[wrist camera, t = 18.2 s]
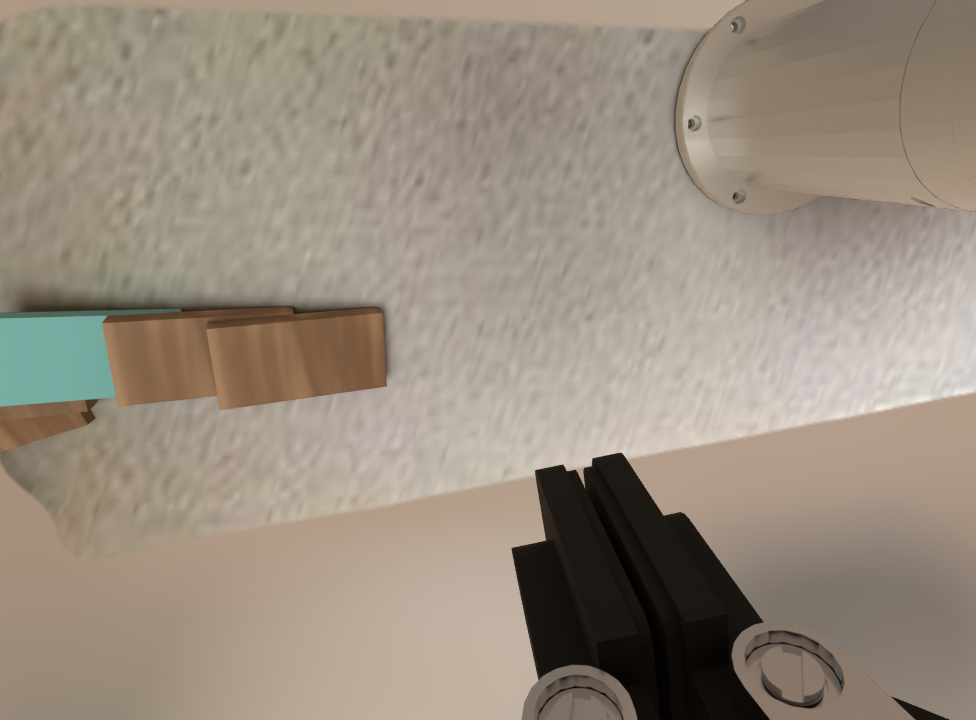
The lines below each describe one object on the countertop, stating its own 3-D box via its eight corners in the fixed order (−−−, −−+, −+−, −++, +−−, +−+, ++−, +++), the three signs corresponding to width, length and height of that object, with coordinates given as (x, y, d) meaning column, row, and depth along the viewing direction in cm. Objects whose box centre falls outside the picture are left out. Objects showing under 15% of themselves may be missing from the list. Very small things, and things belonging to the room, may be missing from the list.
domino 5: (43, 355, 34) (-111, 404, 34) (87, 424, 36) (-59, 470, 36) (59, 347, 36) (-88, 393, 36) (101, 413, 38) (-40, 457, 38)
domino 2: (293, 312, 34) (101, 323, 30) (299, 387, 36) (117, 406, 32) (291, 306, 36) (107, 315, 32) (296, 378, 37) (122, 395, 33)
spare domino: (188, 383, 36) (-8, 398, 32) (181, 308, 35) (-25, 313, 31) (187, 391, 35) (-18, 408, 31) (180, 313, 34) (-36, 319, 29)
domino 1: (382, 313, 35) (206, 329, 31) (386, 386, 37) (219, 410, 33) (377, 306, 36) (207, 321, 32) (381, 377, 38) (220, 399, 34)
